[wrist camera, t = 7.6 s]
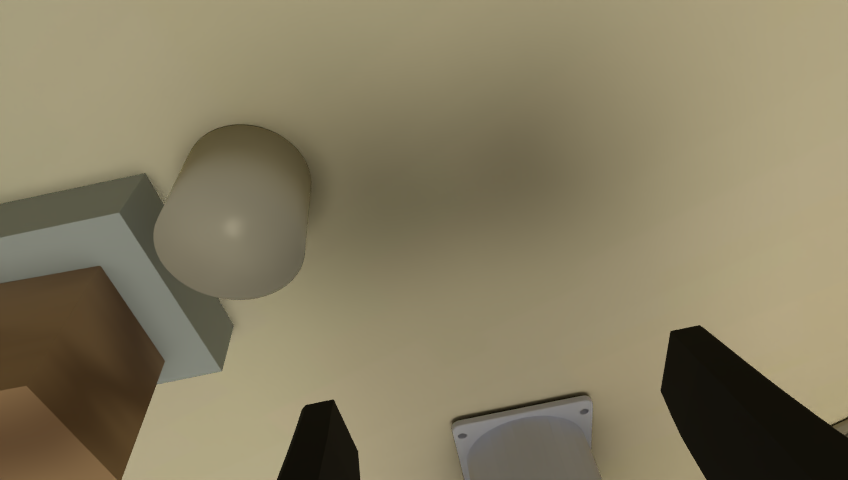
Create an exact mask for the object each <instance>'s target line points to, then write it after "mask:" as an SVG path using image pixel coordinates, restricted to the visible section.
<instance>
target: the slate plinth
mask: <svg viewBox="0 0 848 480" xmlns="http://www.w3.org/2000/svg"><path fill="white" fill-rule="evenodd" d="M163 206H164V205H163V203H162V201H161V200H160V198H159V196H158V194H157V193H156V191H155V189H154V188H153V186H152V184H151V182H150V181H149V179H148V177H147V175H146V174H145V173H144V174H140V175H135V176H130V177H126V178H121V179H116V180H111V181H107V182H102V183H97V184H93V185H88V186H83V187H78V188H74V189H69V190H64V191H59V192H55V193H50V194H45V195H41V196H36V197H31V198H26V199H22V200H17V201H12V202H8V203H3V204H0V284H1V283H6V282H12V281H17V280H23V279H28V278H34V277H40V276H45V275H51V274H56V273H62V272H67V271H73V270H78V269H84V268H89V267H95V266H101V267H102V268H103V270H104V271H105V273H106V274H107V276H108V277H109V279H110V280H111V282H112V283H113V285H114V286H115V288H116V289H117V291H118V292H119V294H120V295H121V297H122V298H123V300H124V301H125V302H126V304H127V305H128V307H129V308H130V310H131V311H132V313H133V314H134V316H135V317H136V319H137V320H138V322H139V323H140V325H141V326H142V328H143V329H144V331H145V332H146V334H147V335H148V336H149V338H150V339H151V341H152V342H153V344H154V345H155V347H156V348H157V350H158V351H159V353H160V354H161V356H162V357H163V359H164V360H165V363H164V366H163V368H162V371H161V374H160V376H159V379H158V382H157V384H161V383H166V382H171V381H176V380H181V379H186V378H191V377H196V376H201V375H206V374H211V373H215V372H220V371H222V369H223V365H224V361H225V357H226V354H227V350H228V346H229V342H230V338H231V334H232V330H233V327H234V326H233V324H232V322H231V320H230V319H229V317H228V315H227V313H226V312H225V310H224V308H223V307H222V305H221V303H220V301H219V300H218V298H217V297H213V296H209V295H206V294H203V293H201V292H198V291H196V290H194V289H192V288H190V287H188V286H186V285H185V284H183V283H182V282H180V281H179V280H177V279H176V278H175V277H174V276H173V275H172V274H171V273H170V272H169V271H168V270H167V269H166V268H165V266H164V265H163V264H162V262H161V261H160V259H159V257H158V255H157V252H156V250H155V246H154V240H153V232H154V227H155V224H156V221H157V218H158V216H159V214H160V212H161V210H162V208H163Z"/></svg>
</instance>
